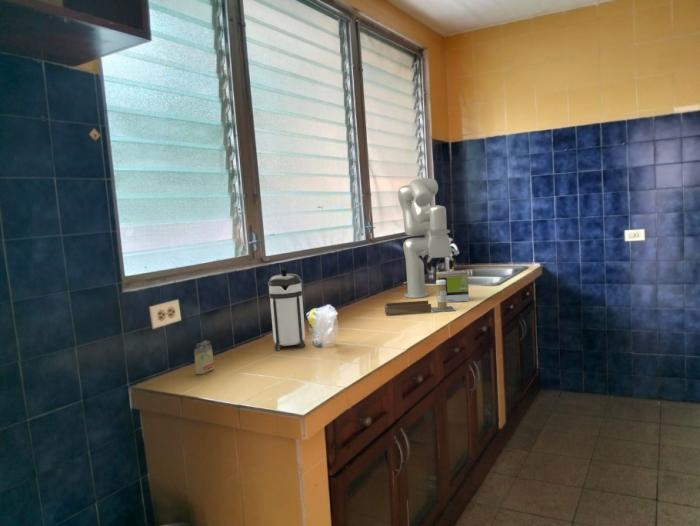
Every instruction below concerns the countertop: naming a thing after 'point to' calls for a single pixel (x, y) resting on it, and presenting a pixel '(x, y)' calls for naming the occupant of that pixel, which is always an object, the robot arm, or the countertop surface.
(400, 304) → the walnut lane
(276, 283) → the coffee press
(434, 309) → the mat
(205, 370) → the pale green labeled container
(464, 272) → the tea box
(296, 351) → the countertop surface
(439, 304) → the sprinkles bottle
